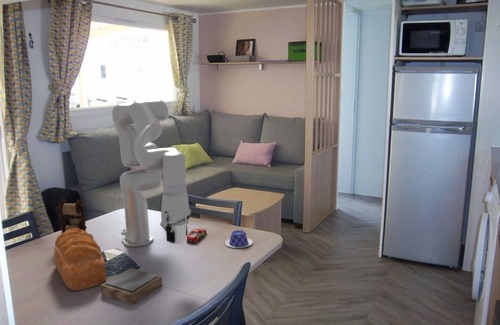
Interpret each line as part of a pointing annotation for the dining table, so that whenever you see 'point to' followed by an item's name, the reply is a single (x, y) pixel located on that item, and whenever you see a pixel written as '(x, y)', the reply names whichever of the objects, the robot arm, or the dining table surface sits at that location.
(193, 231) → the race car
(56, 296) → the dining table surface
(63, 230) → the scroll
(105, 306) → the dining table surface
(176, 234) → the shot glass
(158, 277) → the tray
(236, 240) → the pudding
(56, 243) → the bread
